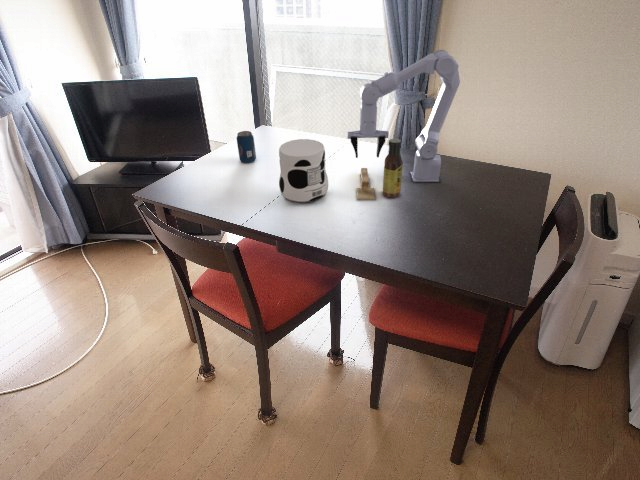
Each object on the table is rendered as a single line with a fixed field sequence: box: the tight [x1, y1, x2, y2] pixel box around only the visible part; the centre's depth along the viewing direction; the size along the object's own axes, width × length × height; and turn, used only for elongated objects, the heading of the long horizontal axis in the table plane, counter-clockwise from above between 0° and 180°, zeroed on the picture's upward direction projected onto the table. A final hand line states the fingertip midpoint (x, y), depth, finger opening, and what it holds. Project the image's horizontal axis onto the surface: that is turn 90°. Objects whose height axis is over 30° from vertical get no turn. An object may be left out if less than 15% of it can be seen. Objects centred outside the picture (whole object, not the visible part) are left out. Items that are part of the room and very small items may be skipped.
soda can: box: [236, 130, 257, 165], centre depth 173 cm, size 7×7×12 cm
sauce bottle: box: [382, 138, 404, 199], centre depth 143 cm, size 6×6×20 cm
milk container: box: [278, 138, 329, 204], centre depth 145 cm, size 17×17×18 cm
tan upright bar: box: [356, 167, 376, 201], centre depth 153 cm, size 20×6×3 cm, turn 177°
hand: (367, 156), depth 154 cm, fingers open, 7 cm apart
